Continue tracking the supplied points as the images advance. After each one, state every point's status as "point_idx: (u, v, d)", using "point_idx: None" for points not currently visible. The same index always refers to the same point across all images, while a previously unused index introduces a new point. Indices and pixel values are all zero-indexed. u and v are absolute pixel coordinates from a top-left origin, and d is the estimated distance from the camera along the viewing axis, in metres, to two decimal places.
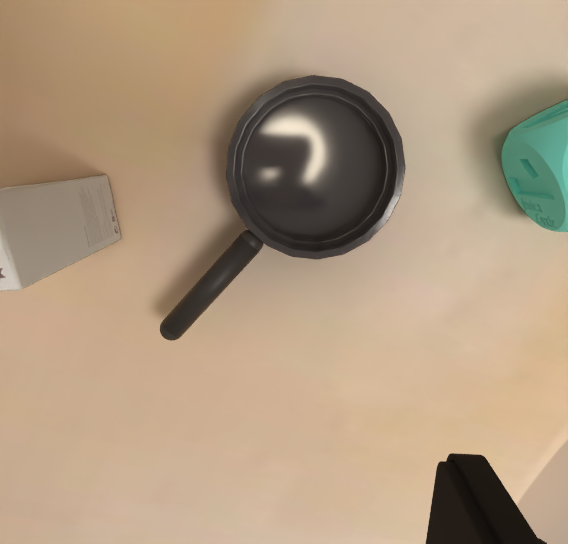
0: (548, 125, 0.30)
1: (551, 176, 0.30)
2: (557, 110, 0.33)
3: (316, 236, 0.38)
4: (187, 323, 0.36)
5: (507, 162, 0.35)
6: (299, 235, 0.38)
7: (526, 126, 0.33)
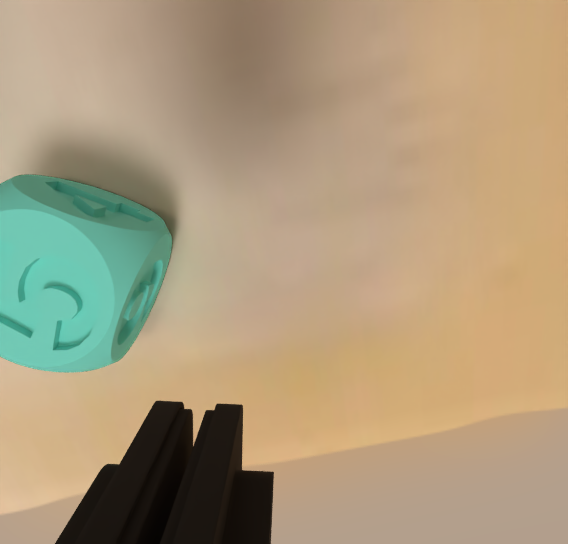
0: (13, 185, 0.20)
1: None
2: (110, 203, 0.25)
3: None
4: None
5: None
6: None
7: (68, 187, 0.24)
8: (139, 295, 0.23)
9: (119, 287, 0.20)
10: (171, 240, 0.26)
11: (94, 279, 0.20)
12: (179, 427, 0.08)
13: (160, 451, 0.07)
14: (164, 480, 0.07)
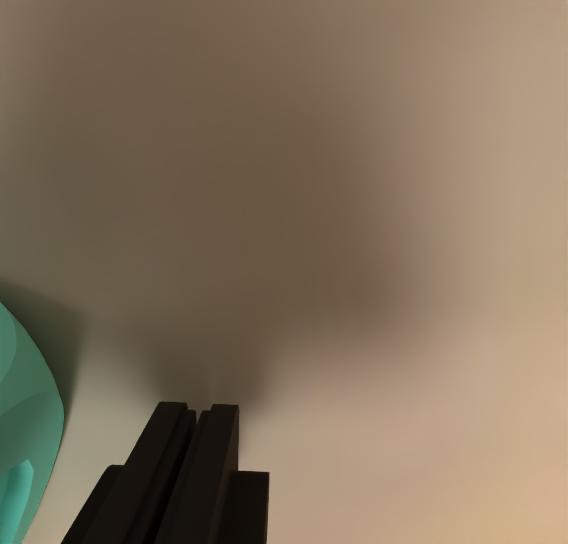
0: None
1: None
2: None
3: None
4: None
5: None
6: None
7: None
8: None
9: None
10: (50, 395, 0.09)
11: None
12: (183, 428, 0.08)
13: (165, 451, 0.07)
14: (169, 481, 0.07)
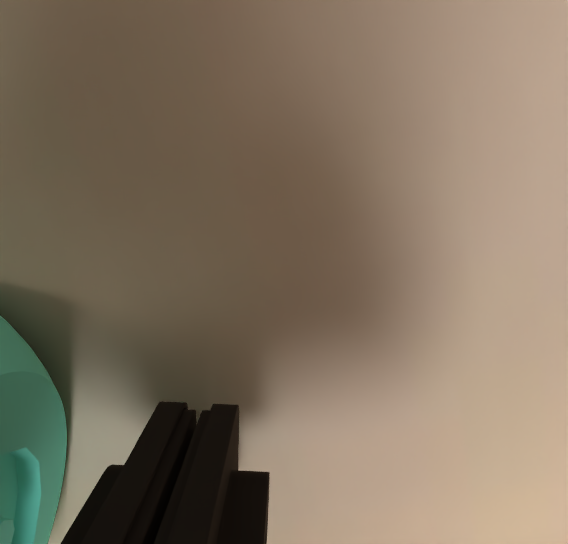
0: None
1: None
2: None
3: None
4: None
5: None
6: None
7: None
8: None
9: None
10: (35, 376, 0.08)
11: None
12: (183, 428, 0.08)
13: (166, 451, 0.07)
14: (169, 481, 0.07)
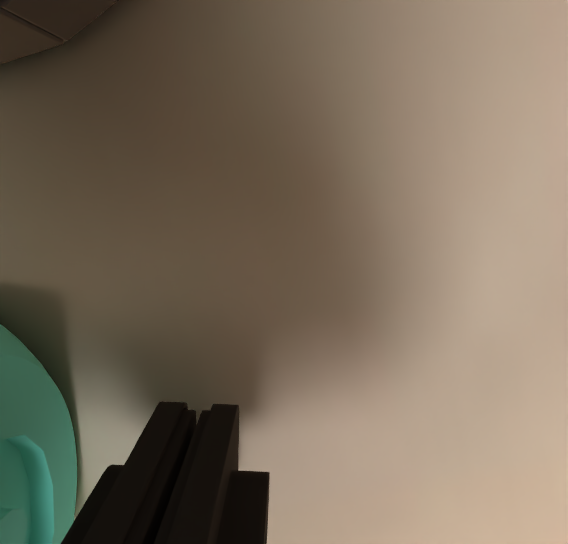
0: None
1: None
2: None
3: None
4: None
5: None
6: None
7: None
8: None
9: None
10: (21, 361, 0.08)
11: None
12: (183, 428, 0.08)
13: (165, 451, 0.07)
14: (169, 481, 0.07)
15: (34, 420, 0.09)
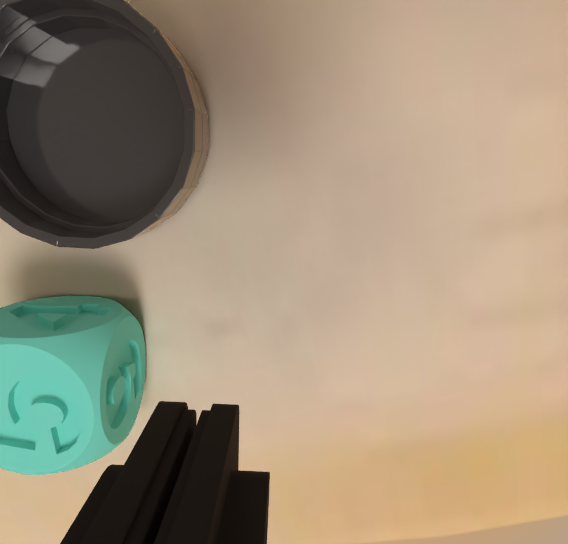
0: None
1: None
2: (71, 308, 0.27)
3: (43, 193, 0.28)
4: None
5: None
6: (26, 173, 0.28)
7: (32, 307, 0.27)
8: (118, 380, 0.26)
9: (90, 383, 0.23)
10: (135, 319, 0.28)
11: (66, 384, 0.23)
12: (183, 428, 0.08)
13: (165, 452, 0.07)
14: (169, 481, 0.07)
15: (137, 338, 0.29)
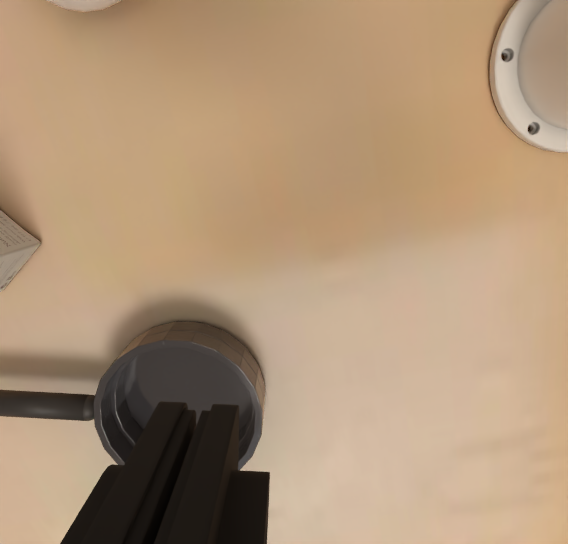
0: None
1: None
2: None
3: None
4: None
5: None
6: (135, 419, 0.39)
7: None
8: None
9: None
10: None
11: None
12: (183, 428, 0.08)
13: (165, 451, 0.07)
14: (169, 481, 0.07)
15: None
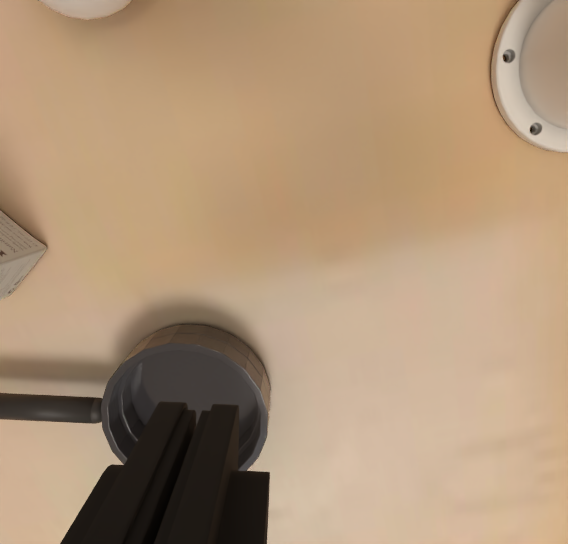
0: None
1: None
2: None
3: None
4: None
5: None
6: (142, 421, 0.39)
7: None
8: None
9: None
10: None
11: None
12: (183, 428, 0.08)
13: (165, 451, 0.07)
14: (169, 481, 0.07)
15: None
